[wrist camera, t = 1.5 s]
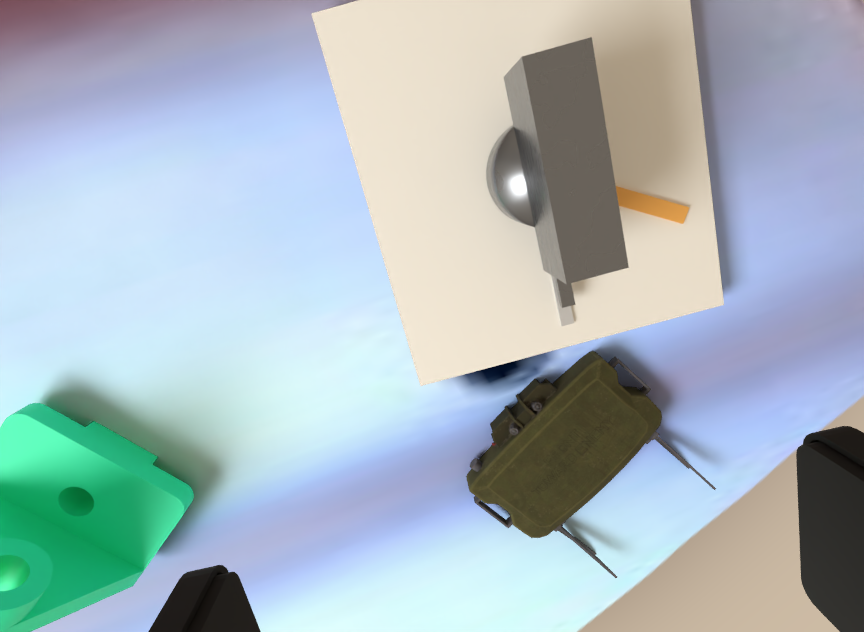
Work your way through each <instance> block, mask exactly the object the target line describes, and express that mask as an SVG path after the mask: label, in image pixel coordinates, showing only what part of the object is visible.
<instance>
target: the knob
mask: <svg viewBox="0 0 864 632" xmlns="http://www.w3.org/2000/svg"><path fill="white" fill-rule="evenodd" d="M504 82H505V87H506V92H507V97H508V102H509V106H510V111H511V116H512V121H513V125H512V126H511V127H510V128H508V129H507V130H506V131H505V132H504V133H503V134H502V135H501V136H500V137H499V138H498V140H497V141H496V143H495V144H494V146H493V148H492V150H491V152H490V155H489V158H488V162H487V168H486V180H487V186H488V190H489V193H490V195H491V198H492V200H493V201H494V203H495V205H496V206H497V207H498V208H499V210H500V211H501V212H503V213H504V214H505V215H506V216H508V217H509V218H511V219H512V220H514V221H517V222H519V223H522V224H525V225H529V226H532V227H535V232H536V236H537V241H538V246H539V251H540V256H541V260H542V265H543V270H544V271H545V272H547V273H549V274H550V275H552V276H554V279H555V284H556V289H557V294H558V299H559V304H560V306H561V307H562V308H564V307H568V306H572V305H575V300H574V294H573V289H572V284H571V283H574V282H577V281H581V280H585V279H588V278H592V277H596V276H600V275H603V274H607V273H611V272H614V271H618V270H622V269H625V268H629V266H628V259H627V253H626V247H625V241H624V235H623V228H622V222H621V216H620V210H619V203H618V197H617V191H616V185H615V179H614V172H613V166H612V160H611V154H610V147H609V141H608V135H607V129H606V123H605V116H604V110H603V104H602V98H601V91H600V85H599V79H598V73H597V67H596V60H595V54H594V48H593V42H592V37H590V38H587V39H583V40H579V41H576V42H572V43H569V44H565V45H561V46H558V47H554V48H551V49H547V50H544V51H540V52H536V53H533V54H529V55H526V56H522V57H521V58H520V59H519V60H518V61H517V62H516V64H515V65H514V66H513V67H512V68H511V69H510V70H509V71H508V73H507V74H506V75H505V76H504Z"/></svg>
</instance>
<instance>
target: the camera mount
mask: <svg viewBox="0 0 864 632" xmlns="http://www.w3.org/2000/svg"><path fill="white" fill-rule="evenodd" d="M157 458H158V457H157V456H156V455H154V454H152V453H150V452H148V451H147V450H145V449H143V448H141V447H140V446H138V445H136V444H134V443H132V442H131V441H129V440H127V439H125V438H124V437H122V436H120V435H118V434H116V433H115V432H113V431H111V430H109V429H108V428H106V427H104V426H102V425H100V424H99V423H97V422H95V421H93V422H92V423H90V424H89V425H88V426H86V427H84V426H82V425H80V424H79V423H77V422H75V421H73V420H71V419H70V418H68V417H66V416H64V415H62V414H61V413H59V412H57V411H55V410H53V409H52V408H50V407H48V406H46V405H44V404H40V403H33V404H30V405H28V406H26V407H24V408H22V409H21V410H19V411H17V412H16V413H14V414H12V415H10V416H9V417H7V418H6V419H5V421H4V422H3V424H2V426H1V428H0V632H31V631H33V630H35V629H38V628H40V627H42V626H44V625H47V624H49V623H51V622H53V621H56V620H58V619H60V618H62V617H65V616H67V615H69V614H71V613H73V612H76V611H78V610H80V609H82V608H85V607H87V606H89V605H91V604H94V603H96V602H98V601H100V600H103V599H105V598H107V597H109V596H112V595H114V594H116V593H118V592H120V591H123V590H125V589H127V588H129V587H132V586H133V585H134V584H135V582H136V581H137V580H138V578H139V577H140V575H141V574H142V573H143V571H144V570H145V568H146V567H147V565H148V564H149V563H150V561H151V560H152V558H153V557H154V556H155V554H156V553H157V551H158V550H159V549H160V547H161V546H162V544H163V543H164V542H165V540H166V539H167V537H168V536H169V535H170V533H171V532H172V530H173V529H174V527H175V526H176V525H177V523H178V522H179V520H180V519H181V518H182V516H183V515H184V513H185V512H186V510H187V509H188V507H189V506H190V504H191V503H192V501H193V499H194V493H193V490H192V489H191V487H190V486H189V485H188V484H186V483H184V482H183V481H181V480H179V479H177V478H176V477H174V476H172V475H170V474H168V473H167V472H165V471H163V470H161V469H159V468H158V467H156V466H154V465H153V464H154V462H155V461H156V459H157Z"/></svg>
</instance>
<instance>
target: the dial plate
mask: <svg viewBox="0 0 864 632" xmlns="http://www.w3.org/2000/svg"><path fill="white" fill-rule="evenodd" d="M312 17H313V21H314V24H315V27H316V31H317V34H318V38H319V41H320V44H321V48H322V51H323V55H324V58H325V61H326V65H327V68H328V72H329V75H330V78H331V82H332V85H333V89H334V92H335V96H336V99H337V102H338V106H339V109H340V113H341V116H342V119H343V123H344V126H345V130H346V133H347V136H348V140H349V143H350V147H351V150H352V153H353V157H354V160H355V164H356V167H357V171H358V174H359V177H360V181H361V184H362V188H363V191H364V194H365V198H366V201H367V205H368V208H369V211H370V215H371V218H372V222H373V225H374V228H375V232H376V235H377V239H378V242H379V246H380V249H381V252H382V256H383V259H384V263H385V266H386V269H387V273H388V276H389V280H390V283H391V286H392V290H393V293H394V297H395V300H396V303H397V307H398V310H399V314H400V317H401V321H402V324H403V327H404V331H405V334H406V338H407V341H408V344H409V348H410V351H411V355H412V358H413V361H414V365H415V368H416V372H417V375H418V378H419V382H420V385H421V386H422V385H426V384H430V383H434V382H437V381H441V380H445V379H449V378H452V377H456V376H460V375H464V374H467V373H471V372H475V371H478V370H482V369H486V368H490V367H493V366H497V365H501V364H505V363H508V362H512V361H516V360H520V359H523V358H527V357H531V356H534V355H538V354H542V353H546V352H549V351H553V350H557V349H561V348H564V347H568V346H572V345H576V344H579V343H583V342H587V341H590V340H594V339H598V338H602V337H605V336H609V335H613V334H617V333H620V332H624V331H628V330H632V329H635V328H639V327H643V326H646V325H650V324H654V323H658V322H661V321H665V320H669V319H673V318H676V317H680V316H684V315H688V314H691V313H695V312H699V311H702V310H706V309H710V308H714V307H717V306H721V305H724V301H723V292H722V283H721V274H720V265H719V256H718V247H717V238H716V229H715V220H714V211H713V202H712V193H711V184H710V175H709V166H708V157H707V148H706V139H705V130H704V121H703V112H702V103H701V94H700V85H699V76H698V67H697V58H696V49H695V40H694V31H693V22H692V13H691V4H690V0H358V1H354V2H351V3H347V4H344V5H340V6H337V7H333V8H330V9H326V10H322V11H319V12H315V13H312ZM590 37H592V42H593V48H594V54H595V60H596V67H597V73H598V79H599V85H600V91H601V98H602V104H603V110H604V116H605V123H606V129H607V135H608V141H609V147H610V154H611V160H612V166H613V172H614V179H615V185H616V191H617V197H618V203H619V210H620V216H621V222H622V228H623V235H624V241H625V247H626V253H627V259H628V266H629V268H625V269H622V270H618V271H614V272H611V273H607V274H603V275H600V276H596V277H592V278H588V279H585V280H581V281H577V282H574V283H571V284H572V289H573V294H574V300H575V305H572V306H568V307H564V308H562V307H561V306H560V304H559V299H558V294H557V289H556V284H555V279H554V276H552V275H550V274H549V273H547V272H545V271H544V270H543V265H542V260H541V256H540V251H539V246H538V241H537V236H536V232H535V227H532V226H529V225H525V224H522V223H519V222H517V221H514V220H512V219H511V218H509V217H508V216H506V215H505V214H504V213H503V212H501V211H500V210H499V208H498V207H497V206H496V205H495V203H494V201H493V200H492V198H491V195H490V193H489V190H488V186H487V180H486V168H487V162H488V158H489V155H490V152H491V150H492V148H493V146H494V144H495V143H496V141H497V140H498V138H499V137H500V136H501V135H502V134H503V133H504V132H505V131H506V130H507V129H508V128H510V127H511V126H512V125H513V121H512V116H511V111H510V106H509V102H508V97H507V92H506V87H505V82H504V76H505V75H506V74H507V73H508V71H509V70H510V69H511V68H512V67H513V66H514V65H515V64H516V62H517V61H518V60H519V59H520V58H521V57H522V56H526V55H529V54H533V53H536V52H540V51H544V50H547V49H551V48H554V47H558V46H561V45H565V44H569V43H572V42H576V41H579V40H583V39H587V38H590Z"/></svg>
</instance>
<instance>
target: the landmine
mask: <svg viewBox="0 0 864 632" xmlns="http://www.w3.org/2000/svg"><path fill="white" fill-rule="evenodd" d="M618 363H619V364H620V365H621V366H622V367H623V368H625V369H626V370H627V371H628V372H629V373H630V374H631V375H632V376H633V377H634V378H635V379H637V380H638V381H639V382H640V383H641V384H642V385H643V387H642V388H641V389H640V390H639V389H638V388H636V387H625V386H621V385H620V384H619V383H618V375H617V371H616V370H615V369H614V367H615V366H616V365H617V364H618ZM650 390H651V389H650V388H649V387H648V386H647V385H646V384H645V383H644V382H643V381H642V380H641V379H639V378H638V377H637V376H636V375H635V374H634V373H633V372H632V371H631V370H630V369H629V368H628V367H626V366H625V365H624V364H623V363H622V362H621V361H620V360H619V359H618V358H616V357H614V358H613V359H612V360H611V361H610V362H609V363H607V362H606V361H605V360H604V359H603V358H602V357H601V356H599V355H598V354H597V353H596V352H594V351H591V352H589V353H587V354H586V355H585V356H583V357H582V358H581V359H579V360H578V361H577V362H576V363H575V364H574V365H573V366H572V367H570V368H569V369H568V370H567V371H566V372H565V373H564V374H563V375H561V376H560V377H559V378H558V379H557V380H556V381H555V382H554V383H553V384H552V383H551V382H550V381H548V380H547V379H545V380H544V381H543V382H542V383H540V382H538V381H537V380H536V379H534V380H533V381H532V382H531V383H530V384H529V385H528V386H527V387H526V388H525V389H524V390H523V391H522V392H521V393H520V394H519V395H518V394H517V395H516V397H517V399H518V402H517V403H516V405H515V406H514V407H513V408H512V409H509V408H508V407H507V406H505V409H504V410H503V411H502V412H501V413H500V414H499V415H498V416H497V418H496V419H495V420H494V421H493V422H492V423H491V424H490V425H491V428H492V432H493V433H492V434H491V435H492V438H493V441H494V443H492V446H491V447H490V448H489V449H488V450H487V451H486V453H485V454H484V455H483V456H482V457H481V458H480V459H479V460H478V459H477V458H475V459H473V460H472V462H471V464H470V467H471V468H472V469H471V470H470V472H469V473H468V474H467V482H468V486H469V490H470V492H471V493H473V494H474V495H475V497H474V501H475V503H476V504H477V505H479V506H480V507H481V508H483V509H484V510H485V511H486V512H488V513H489V514H490V515H492V516H493V517H494V518H496V519H497V520H498V521H500V522H501V523H502V524H504V525H505V526H506V527H507V528H509V527H510V526H511V525H512V524H513V525H514V526H515V527H517V528H518V529H519V530H521V531H522V532H524V533H525V534H527V535H528V536H530V537H531V538H540V537H543V536H547V535H548V534H549V533H551V532H552V531H553V530H554V531H556V532H557V531H560V532H561V533H563V534H564V535H565V536H567V537H568V538H570V539H571V540H573V541H574V542H575V543H576V544H577V545H578V546H580V547H581V548H582V549H583V550H584V551H585V552H586V553H588V554H589V555H590V556H591V557H592V558H593V559H595V560H596V561H597V562H598V563H599V564H600V565H601V566H603V567H604V568H605V569H606V570H607V571H608V572H609V573H611V574H612V575H613V576H614V577H615V578H617V576H616V575H615V574H614V573H613V572H612V571H611V570H610V569H609V568H608V567H607V566H606V565H605V564H604V563H603V562H602V561H601V560H600V559H599V558H597V557H596V556H595V554H596V553H595V552H594V551H592V550H591V549H590V548H588V547H587V546H586V545H585V544H583V543H582V542H581V541H580V540H578V539H577V538H575V537H574V536H572V535H571V534H570V533H569V532H568V531H567V530H565V529H564V528H563V527H562V526H563V525H562V524H563V523H565V522H566V520H567V519H568V518H569V517H571V516H572V515H573V514H574V513H575V512H577V511H578V510H579V509H580V508H581V507H582V506H584V505H585V504H586V503H587V502H588V501H589V500H591V499H592V498H593V497H594V496H595V495H596V494H597V493H598V492H599V491H600V490H601V489H602V488H604V487H605V486H606V485H607V484H608V483H609V482H610V481H611V480H612V479H613V478H614V477H615V476H616V475H617V474H618V473H619V472H620V471H621V470H622V469H623V468H624V467H625V466H626V465H627V463H628V462H629V461H630V460H631V459H632V458H633V457H634V456H635V455H636V454H637V453H638V451H639V450H640V449H641V448H642V447H643V445H644V444H645V443H646V444H648V443H649V442H650V441H651V440H654V439H655V440H656V441H658V442H659V443H660V444H661V445H662V446H663V447H664V448H665V449H667V450H668V451H669V452H670V453H671V454H672V455H673V456H675V457H676V458H677V459H678V460H679V461H680V462H681V463H683V464H684V465H685V466H686V467H687V468H688V469H689V468H691V469H692V470H693V471H694V472H695V473H696V474H697V475H699V476H700V477H701V478H702V479H703V480H704V481H705V482H706V483H707V484H709V485H710V486H711V487H712V488H713V489H714V490H715V489H716V488H715V487H714V486H713V485H712V484H710V483H709V482H708V481H707V480H706V479H705V478H704V477H703V476H702V475H701V474H700V473H698V472H697V471H696V470H695V469H694V468H693V467H692V466H691V465H690V464H688V463H687V462H686V461H685V460H684V459H683V458H682V457H681V456H680V455H679V454H677V453H676V452H675V451H674V450H673V449H672V448H671V447H670V446H669V445H667V444H666V443H665V442H664V441H663V440H662V439H661V438H660V437H659V436H658V435H659V434H658V433H657V432H656V430H657V428H658V427H659V426H660V423H661V419H662V415H661V411H660V410H659V409H658V407H657V406H656V405H655V404H654V403H653V402H652V401H651V400H650V399H649V398H648V397H647V396H646V394H647V393H648V392H649V391H650ZM656 437H657V438H658V439H657V438H656ZM481 500H482V501H483V502H484V503H487V504H498V505H500V506H501V507H502V508H504V509H505V510H507V511H508V512H509V514H510V517H509V518H508V519H506V520H505V519H504V518H503V517H501V516H500V515H499V514H497V513H496V512H495V511H494V510H492V509H491V508H490V507H488V506H487V505H486V504H484V503H483V502H482V501H481Z"/></svg>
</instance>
